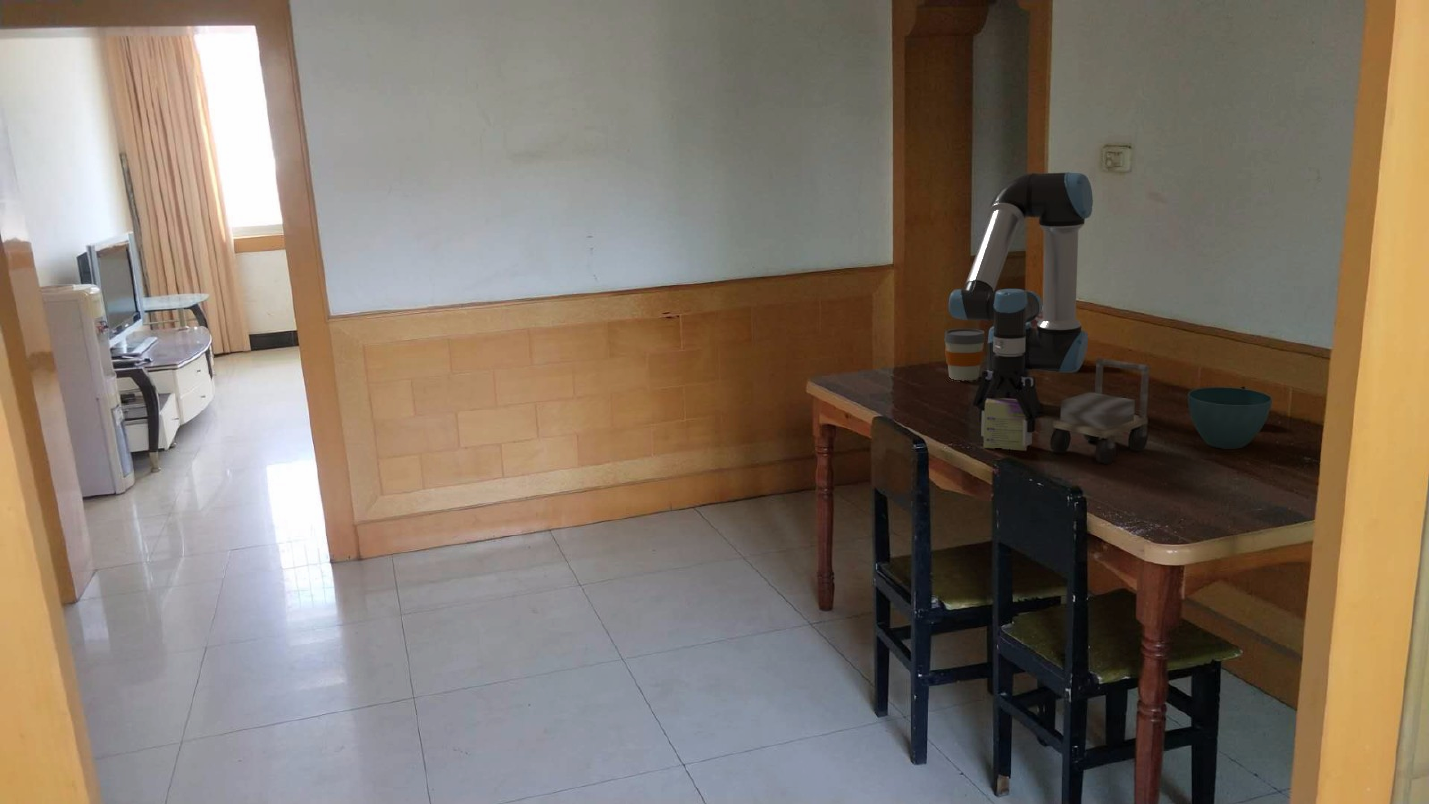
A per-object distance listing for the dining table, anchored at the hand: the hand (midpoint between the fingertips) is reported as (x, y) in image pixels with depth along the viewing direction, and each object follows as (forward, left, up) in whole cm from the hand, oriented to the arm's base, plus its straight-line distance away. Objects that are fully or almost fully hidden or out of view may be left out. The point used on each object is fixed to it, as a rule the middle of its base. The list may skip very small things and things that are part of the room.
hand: (1006, 439), depth 261 cm
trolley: (+18, +12, -2) cm, 22 cm away
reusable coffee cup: (-55, +53, -2) cm, 76 cm away
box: (0, 0, -2) cm, 2 cm away
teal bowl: (+36, +38, -2) cm, 52 cm away
